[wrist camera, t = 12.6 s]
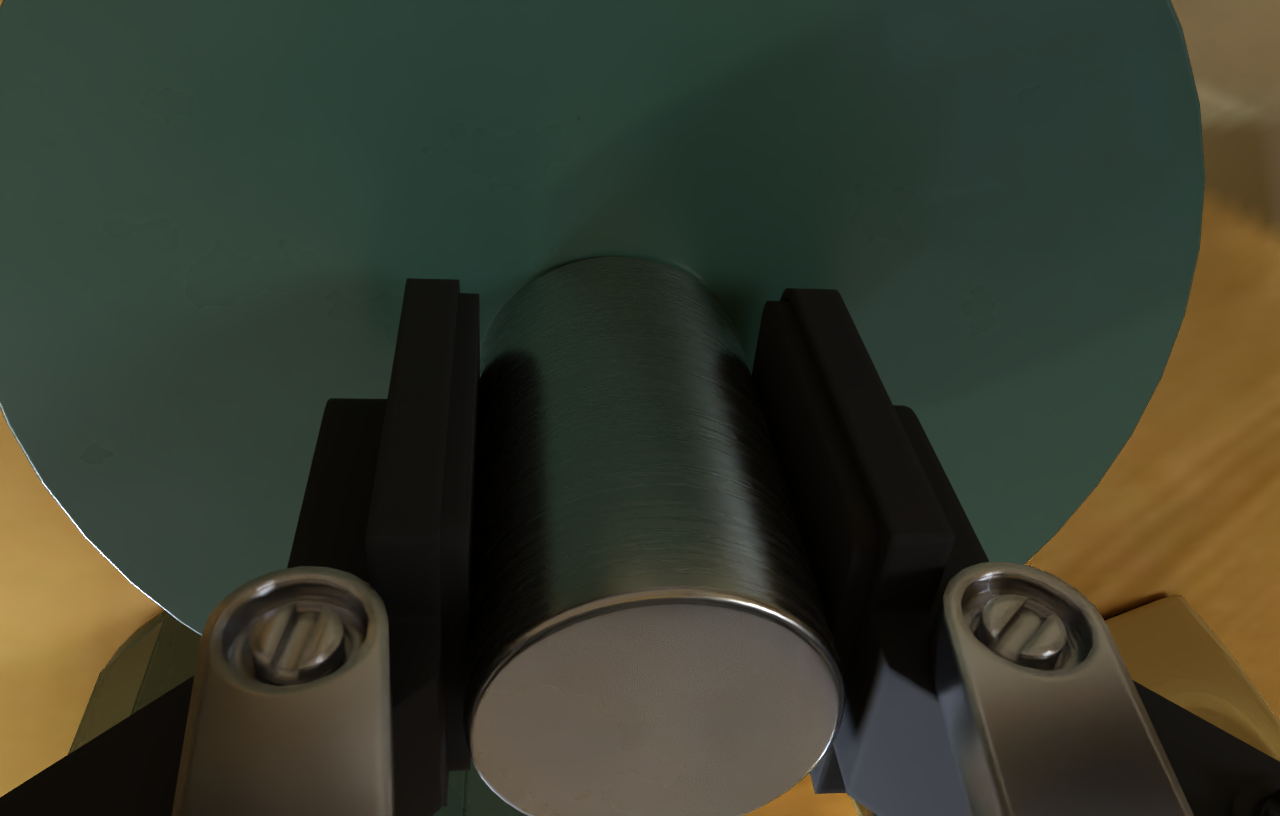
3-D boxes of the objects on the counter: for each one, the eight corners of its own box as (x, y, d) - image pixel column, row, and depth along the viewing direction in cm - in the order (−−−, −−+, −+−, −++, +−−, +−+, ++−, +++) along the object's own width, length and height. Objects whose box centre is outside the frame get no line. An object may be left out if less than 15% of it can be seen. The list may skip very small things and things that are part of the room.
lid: (-207, -446, 8) (-1192, -519, 4) (1372, -285, 10) (2171, -189, 5) (129, 692, 16) (-33, 1150, 12) (983, 674, 18) (1156, 1067, 13)
